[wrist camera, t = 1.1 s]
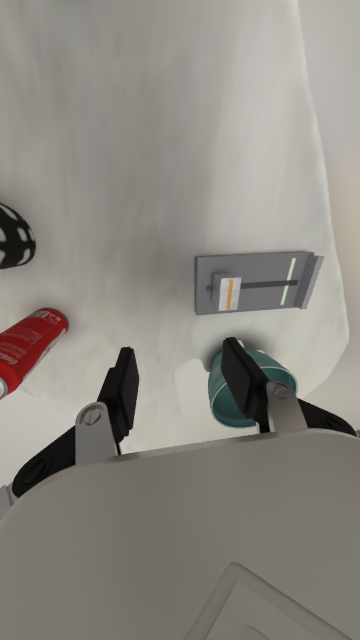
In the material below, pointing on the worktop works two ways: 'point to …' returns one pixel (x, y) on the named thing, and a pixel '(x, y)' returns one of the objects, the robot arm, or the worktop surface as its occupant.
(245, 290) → the fader console
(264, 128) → the worktop surface
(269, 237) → the worktop surface
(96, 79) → the worktop surface
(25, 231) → the white-spotted black cylinder
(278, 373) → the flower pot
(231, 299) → the fader knob
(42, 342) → the beverage can
